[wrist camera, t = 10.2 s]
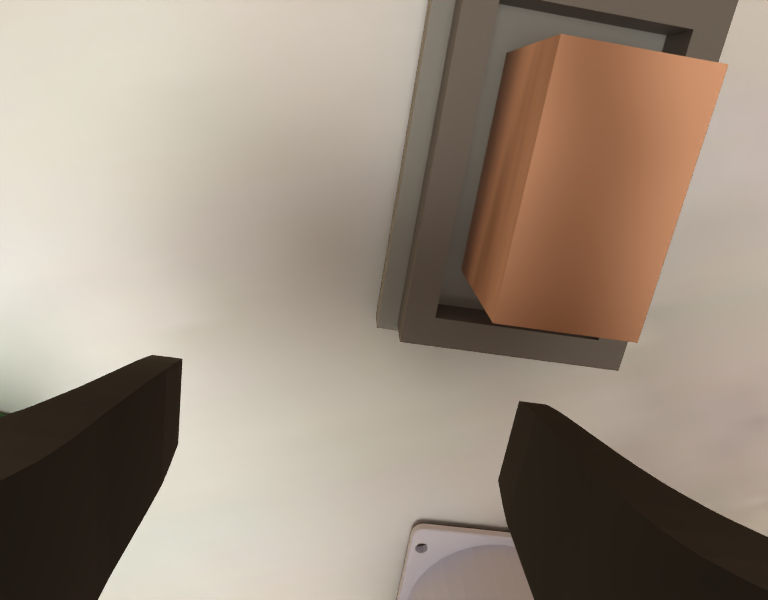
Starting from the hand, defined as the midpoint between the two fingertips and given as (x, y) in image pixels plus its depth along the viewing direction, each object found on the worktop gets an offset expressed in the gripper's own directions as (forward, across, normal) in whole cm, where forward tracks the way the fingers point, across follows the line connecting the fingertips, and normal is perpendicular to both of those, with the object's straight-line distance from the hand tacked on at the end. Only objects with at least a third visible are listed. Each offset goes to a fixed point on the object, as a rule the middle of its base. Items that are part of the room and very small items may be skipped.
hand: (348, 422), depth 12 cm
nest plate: (+9, -6, -5) cm, 12 cm away
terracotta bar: (+8, -6, -5) cm, 11 cm away
